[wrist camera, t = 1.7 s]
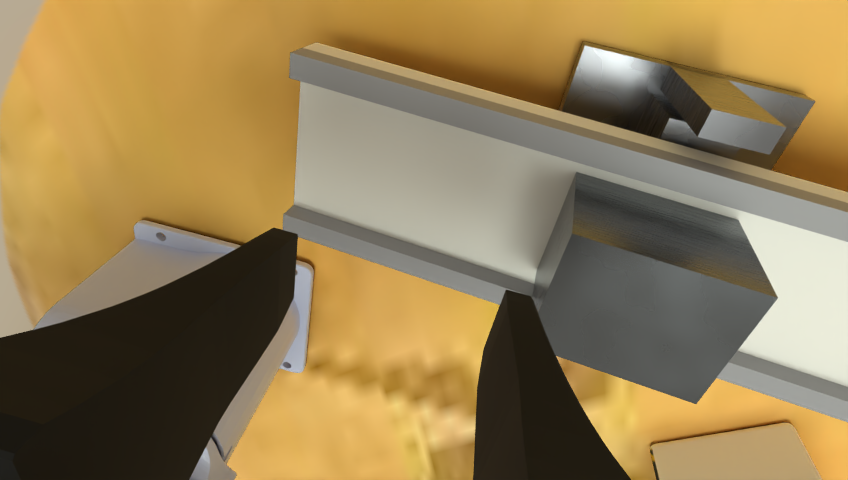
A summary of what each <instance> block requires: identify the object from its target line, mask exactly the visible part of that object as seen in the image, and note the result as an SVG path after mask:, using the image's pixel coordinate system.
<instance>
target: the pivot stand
mask: <svg viewBox="0 0 848 480" xmlns="http://www.w3.org/2000/svg"><path fill="white" fill-rule="evenodd" d="M814 103H815V101H814V100H812V99H811V98H809V97H808V96H806V95H804V94H800V93H796V92H792V91H788V90H784V89H779V88H775V87H771V86H767V85H763V84H759V83H755V82H751V81H746V80H742V79H738V78H734V77H730V76H726V75H722V74H718V73H713V72H709V71H705V70H701V69H697V68H693V67H689V66H685V65H680V64H676V63H672V62H668V61H664V60H660V59H656V58H651V57H647V56H643V55H639V54H635V53H631V52H627V51H623V50H618V49H614V48H610V47H606V46H602V45H598V44H594V43H590V42H585V41H583V42H582V45H581V48H580V50H579V53H578V56H577V59H576V62H575V65H574V67H573V70H572V73H571V76H570V79H569V82H568V84H567V87H566V90H565V93H564V96H563V98H562V101H561V104H560V107H559V110H558V111H562V112H565V113H569V114H572V115H576V116H579V117H583V118H587V119H590V120H594V121H597V122H601V123H604V124H608V125H611V126H615V127H618V128H622V129H626V130H629V131H633V132H636V133H640V134H643V135H647V136H650V137H654V138H658V139H661V140H665V141H668V142H672V143H675V144H679V145H682V146H686V147H689V148H693V149H697V150H700V151H704V152H707V153H711V154H714V155H718V156H721V157H725V158H728V159H732V160H736V161H739V162H743V163H746V164H750V165H753V166H757V167H760V168H764V169H767V170H772V168H773V167H774V165H775V163H776V162H777V160H778V159H779V157H780V156H781V154H782V153H783V151H784V149H785V148H786V146H787V145H788V143H789V142H790V140H791V139H792V137H793V135H794V134H795V132H796V131H797V129H798V128H799V126H800V125H801V123H802V121H803V120H804V118H805V117H806V115H807V114H808V112H809V111H810V109H811V107H812V106H813V104H814Z"/></svg>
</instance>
